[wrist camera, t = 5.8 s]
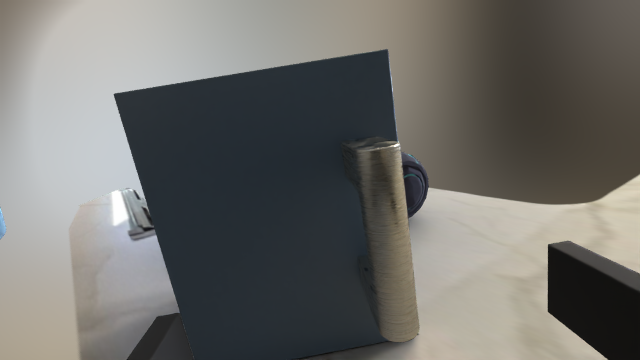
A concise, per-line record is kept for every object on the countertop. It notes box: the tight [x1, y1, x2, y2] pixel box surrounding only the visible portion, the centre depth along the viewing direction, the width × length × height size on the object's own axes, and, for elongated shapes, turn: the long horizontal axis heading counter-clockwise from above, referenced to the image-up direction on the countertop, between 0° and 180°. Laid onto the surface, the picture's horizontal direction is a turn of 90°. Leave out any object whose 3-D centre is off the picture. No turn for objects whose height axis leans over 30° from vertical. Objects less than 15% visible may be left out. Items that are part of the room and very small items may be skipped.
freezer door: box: [114, 49, 419, 360], centre depth 17 cm, size 7×16×20 cm, turn 94°
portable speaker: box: [401, 152, 429, 218], centre depth 51 cm, size 25×10×10 cm, turn 19°
